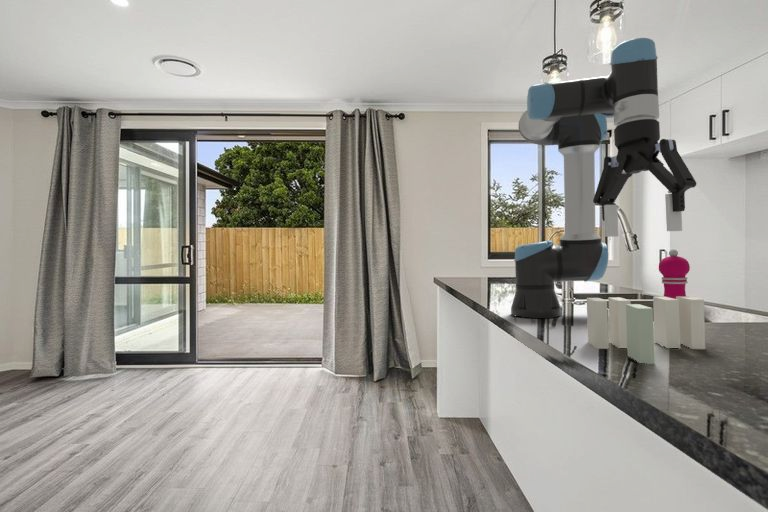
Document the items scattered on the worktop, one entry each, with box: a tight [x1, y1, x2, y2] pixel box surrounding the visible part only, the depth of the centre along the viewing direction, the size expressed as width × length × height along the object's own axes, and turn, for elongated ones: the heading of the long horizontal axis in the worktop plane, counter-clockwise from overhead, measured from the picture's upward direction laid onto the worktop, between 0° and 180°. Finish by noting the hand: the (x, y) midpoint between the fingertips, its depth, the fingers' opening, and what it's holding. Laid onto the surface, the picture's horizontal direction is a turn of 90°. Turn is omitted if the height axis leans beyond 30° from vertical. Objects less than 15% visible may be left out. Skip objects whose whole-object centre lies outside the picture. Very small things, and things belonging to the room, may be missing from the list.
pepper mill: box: [658, 249, 691, 299], centre depth 100 cm, size 7×7×20 cm
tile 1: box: [586, 297, 610, 350], centre depth 92 cm, size 6×2×10 cm, turn 169°
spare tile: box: [626, 303, 656, 365], centre depth 80 cm, size 6×2×10 cm, turn 169°
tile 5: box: [676, 295, 706, 350], centre depth 89 cm, size 6×2×10 cm, turn 169°
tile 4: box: [652, 296, 681, 350], centre depth 90 cm, size 6×2×10 cm, turn 169°
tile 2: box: [607, 296, 632, 349], centre depth 92 cm, size 6×2×10 cm, turn 169°
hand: (640, 234), depth 82 cm, fingers open, 13 cm apart
